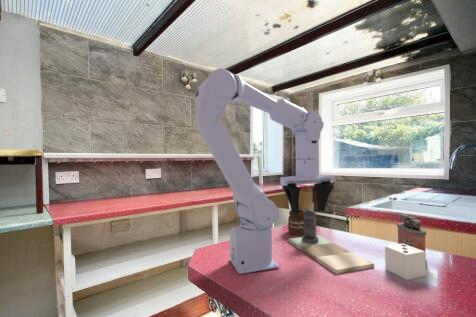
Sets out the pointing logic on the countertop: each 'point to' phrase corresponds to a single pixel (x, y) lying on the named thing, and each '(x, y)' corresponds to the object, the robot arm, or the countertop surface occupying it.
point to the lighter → (411, 233)
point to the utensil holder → (296, 221)
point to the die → (405, 261)
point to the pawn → (309, 227)
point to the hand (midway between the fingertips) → (308, 212)
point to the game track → (332, 255)
